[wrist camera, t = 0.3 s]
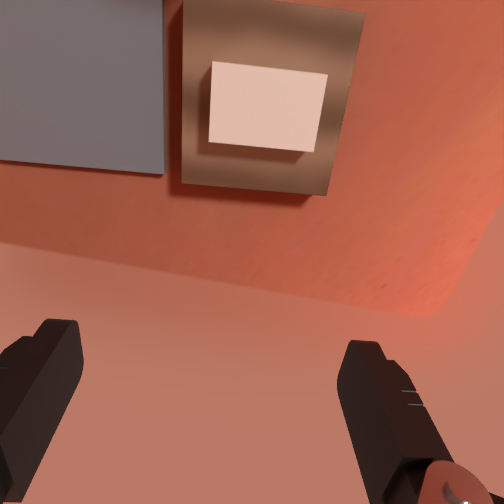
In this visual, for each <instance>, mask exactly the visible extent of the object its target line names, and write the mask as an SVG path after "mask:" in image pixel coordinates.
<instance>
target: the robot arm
mask: <svg viewBox="0 0 504 504" xmlns="http://www.w3.org/2000/svg"><path fill="white" fill-rule="evenodd" d="M83 362H84V360H83V352H82V345H81V338H80V332H79V326H78V323H77V321H75V320H62V319H46V320H45V321H44V322H43V323H42V324H41V326H40V327H39V328H38V330H37V331H36V333H35V334H34V335H33V337H31V336H22V337H21V338H20V339H18V340H17V341H15V342H14V343H13V344H11V345H10V346H8V347H7V348H6V349H4V350H3V352H2V353H1V354H0V504H3V502H22V499H23V498H24V496H25V494H26V492H27V489H28V487H29V485H30V483H31V481H32V479H33V477H34V475H35V473H36V471H37V469H38V466H39V464H40V462H41V460H42V458H43V456H44V454H45V452H46V450H47V448H48V446H49V444H50V442H51V439H52V437H53V435H54V433H55V431H56V429H57V427H58V425H59V423H60V421H61V419H62V416H63V414H64V412H65V410H66V408H67V406H68V404H69V402H70V399H71V398H72V396H73V394H74V391H75V389H76V387H77V385H78V383H79V381H80V378H81V375H82V371H83V364H84V363H83ZM337 391H338V396H339V399H340V403H341V407H342V410H343V414H344V417H345V420H346V424H347V427H348V431H349V434H350V437H351V441H352V444H353V448H354V451H355V454H356V458H357V461H358V465H359V468H360V472H361V475H362V479H363V482H364V485H365V489H366V492H367V496H368V499H369V503H370V504H504V498H502V497H499V496H497V495H494V494H492V493H490V492H488V491H487V489H486V488H485V486H484V485H483V484H482V483H481V481H480V480H479V479H478V478H477V477H476V476H475V475H474V474H472V473H471V472H470V471H468V470H467V469H465V468H464V467H462V466H460V465H458V464H456V463H455V462H454V461H453V459H452V457H451V455H450V453H449V451H448V450H447V448H446V446H445V444H444V442H443V440H442V438H441V436H440V434H439V432H438V431H437V429H436V427H435V425H434V423H433V421H432V420H431V417H430V415H429V413H428V412H427V410H426V408H425V407H423V402H422V400H421V398H420V397H419V395H418V393H416V389H415V387H414V385H413V383H412V381H411V379H410V378H409V375H408V374H407V373H406V372H405V371H404V370H403V369H402V368H401V367H400V366H399V365H398V364H397V363H396V362H395V361H394V360H387V359H386V357H385V355H384V353H383V351H382V349H381V347H380V345H379V344H378V343H377V342H374V341H360V340H351V341H350V342H349V344H348V347H347V350H346V353H345V356H344V359H343V362H342V365H341V368H340V371H339V374H338V378H337Z"/></svg>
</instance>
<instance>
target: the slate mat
mask: <svg viewBox="0 0 504 504" xmlns="http://www.w3.org/2000/svg"><path fill="white" fill-rule="evenodd" d="M0 160H10V161H21V162H32V163H43V164H54V165H65V166H76V167H87V168H98V169H110V170H121V171H132V172H143V173H154V174H165V172H166V162H165V83H164V4H163V0H0Z"/></svg>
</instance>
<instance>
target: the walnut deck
mask: <svg viewBox="0 0 504 504" xmlns="http://www.w3.org/2000/svg"><path fill="white" fill-rule="evenodd" d="M365 14H366V13H363V12H356V11H348V10H341V9H333V8H325V7H318V6H310V5H303V4H295V3H287V2H280V1H272V0H183V72H182V181H181V183H184V184H196V185H207V186H218V187H230V188H241V189H252V190H264V191H275V192H286V193H298V194H309V195H320V196H326V195H327V191H328V186H329V181H330V177H331V172H332V167H333V163H334V158H335V153H336V149H337V144H338V139H339V135H340V130H341V125H342V121H343V116H344V111H345V107H346V102H347V97H348V93H349V88H350V84H351V79H352V74H353V70H354V65H355V60H356V56H357V51H358V46H359V42H360V37H361V32H362V28H363V23H364V18H365ZM212 61H218V62H227V63H235V64H244V65H253V66H261V67H270V68H278V69H287V70H296V71H304V72H313V73H321V74H326V75H328V77H327V83H326V88H325V93H324V99H323V104H322V110H321V115H320V120H319V126H318V131H317V137H316V142H315V147H314V152H307V151H297V150H286V149H276V148H266V147H256V146H246V145H235V144H225V143H215V142H209V124H210V101H211V79H212Z"/></svg>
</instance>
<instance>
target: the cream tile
mask: <svg viewBox="0 0 504 504" xmlns="http://www.w3.org/2000/svg"><path fill="white" fill-rule="evenodd" d="M327 77H328V75H326V74H321V73H313V72H304V71H296V70H287V69H278V68H270V67H261V66H253V65H244V64H235V63H227V62H218V61H212V79H211V101H210V124H209V142H215V143H225V144H235V145H246V146H256V147H266V148H276V149H286V150H297V151H307V152H314V147H315V142H316V137H317V131H318V126H319V120H320V115H321V110H322V104H323V99H324V93H325V88H326V83H327Z"/></svg>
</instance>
